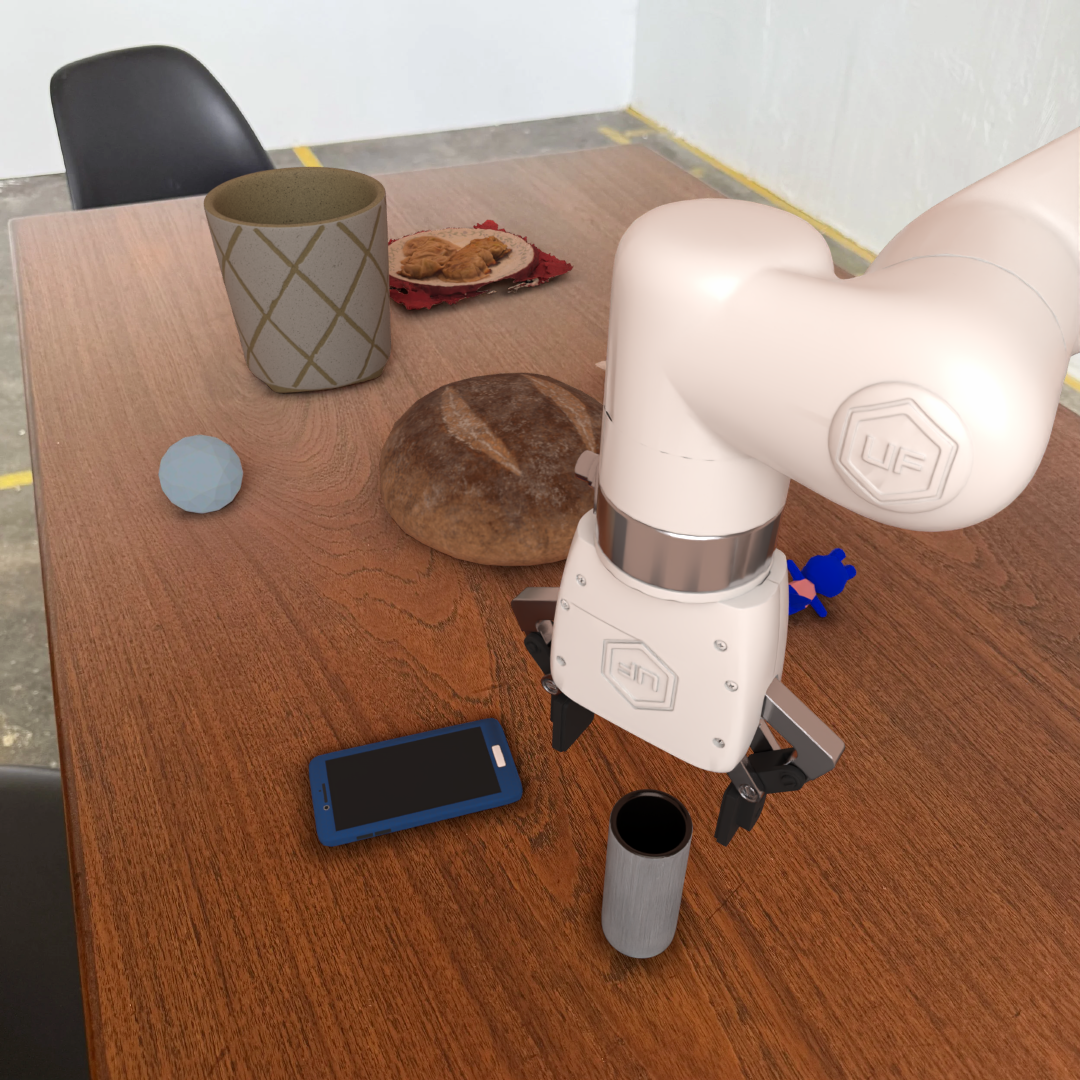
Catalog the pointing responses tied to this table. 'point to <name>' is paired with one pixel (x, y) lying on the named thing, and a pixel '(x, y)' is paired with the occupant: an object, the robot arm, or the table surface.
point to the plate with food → (464, 264)
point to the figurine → (818, 581)
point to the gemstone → (200, 473)
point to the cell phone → (412, 781)
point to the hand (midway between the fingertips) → (649, 777)
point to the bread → (492, 468)
